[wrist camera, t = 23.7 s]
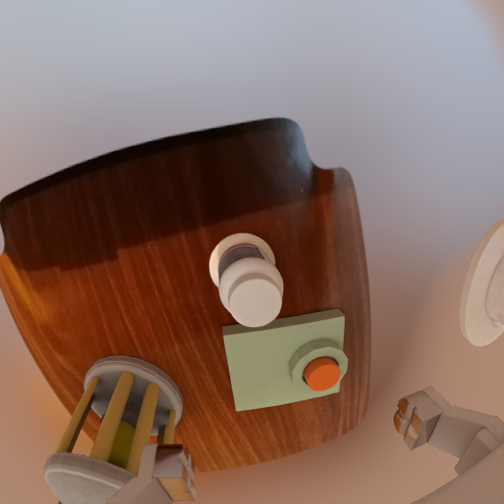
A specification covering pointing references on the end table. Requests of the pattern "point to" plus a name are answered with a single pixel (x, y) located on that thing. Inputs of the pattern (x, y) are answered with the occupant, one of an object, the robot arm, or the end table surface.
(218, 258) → the coaster
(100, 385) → the lantern
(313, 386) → the press button
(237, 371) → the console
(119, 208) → the end table surface
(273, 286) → the pill bottle
